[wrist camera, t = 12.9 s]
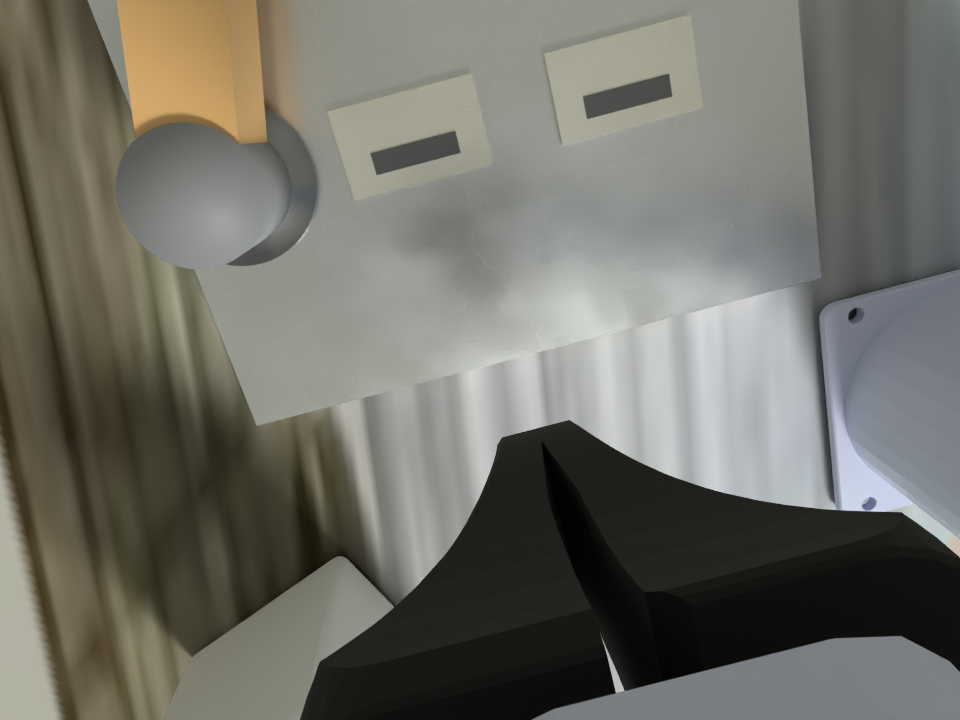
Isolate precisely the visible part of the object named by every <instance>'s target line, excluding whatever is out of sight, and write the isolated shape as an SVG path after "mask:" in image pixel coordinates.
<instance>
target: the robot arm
mask: <svg viewBox="0 0 960 720" xmlns="http://www.w3.org/2000/svg"><path fill="white" fill-rule="evenodd" d="M854 308H857V314H856V316H855V317H854V318H853V319H851V320H849V319H848V315H849V313H850V311H851V310H852V309H854ZM819 323H820V335H821V346H822V358H823V369H824V381H825V392H826V404H827V415H828V426H829V438H830V449H831V461H832V472H833V484H834V495H835V506H836V509H837V510H825V509H815V508H807V507H798V506H790V505H782V504H776V503H770V502H763V501H758V500H753V499H748V498H744V497H739V496H735V495H730V494H726V493H722V492H718V491H714V490H711V489H707V488H704V487H701V486H698V485H695V484H692V483H689V482H686V481H683V480H680V479H677V478H674V477H672V476H669V475H667V474H664V473H662V472H659V471H657V470H655V469H653V468H651V467H648V466H646V465H644V464H642V463H640V462H638V461H636V460H634V459H632V458H630V457H628V456H626V455H624V454H622V453H621V452H619V451H617V450H615V449H614V448H612V447H610V446H609V445H607V444H605V443H604V442H602V441H601V440H599V439H598V438H596V437H594V436H593V435H591V434H590V433H588V432H587V431H585V430H584V429H583V428H581V427H580V426H578V425H576V424H575V423H573V422H572V421H570V420H568V421H564V422H560V423H557V424H553V425H549V426H545V427H541V428H537V429H533V430H530V431H526V432H522V433H518V434H514V435H510V436H506V437H503V438H502V439H501V440H500V442H499V443H498V445H497V451H496V456H495V459H494V462H493V465H492V468H491V471H490V474H489V476H488V479H487V481H486V484H485V486H484V489H483V491H482V493H481V496H480V498H479V500H478V502H477V504H476V506H475V508H474V509H473V511H472V513H471V515H470V517H469V519H468V521H467V523H466V525H465V526H464V528H463V530H462V531H461V533H460V534H459V536H458V538H457V539H456V541H455V542H454V544H453V545H452V546H451V548H450V549H449V551H448V552H447V553H446V554H445V556H444V557H443V558H442V559H441V560H440V561H439V562H438V564H437V565H436V566H435V567H434V568H433V569H432V570H431V571H430V572H429V574H428V575H427V576H426V577H425V578H424V579H423V580H422V581H421V582H420V584H419V585H418V586H417V587H416V588H415V589H414V590H413V591H412V592H411V593H409V594H408V595H407V596H406V597H405V598H404V599H403V600H402V601H401V602H400V603H399V604H398V605H396V606H395V607H394V608H393V609H392V610H390V611H389V612H388V613H387V614H386V615H385V616H383V617H382V618H381V619H380V620H378V621H377V622H376V623H375V624H373V625H372V626H371V627H370V628H368V629H367V630H365V631H364V632H362V633H361V634H360V635H358V636H357V637H355V638H354V639H352V640H351V641H350V642H348V643H347V644H345V645H344V646H342V647H341V648H340V649H338V650H337V651H335V652H334V653H332V654H331V655H329V656H328V657H326V658H325V659H323V660H321V661H320V662H319V665H318V667H317V671H316V674H315V677H314V680H313V682H312V685H311V688H310V690H309V693H308V695H307V698H306V701H305V705H304V708H303V711H302V714H301V718H300V720H960V558H959V556H957V555H956V554H955V553H954V552H953V551H952V550H950V549H949V548H948V547H947V546H946V545H945V544H943V543H942V542H941V541H940V540H939V539H938V538H936V537H935V536H934V535H932V534H931V533H930V532H928V531H927V530H925V529H924V528H923V527H921V526H920V525H919V524H917V523H916V522H915V521H913V520H912V519H910V518H909V517H907V516H906V515H904V514H903V513H901V512H884V511H888V510H892V509H896V508H900V507H904V506H908V505H912V504H915V505H917V506H918V507H919V508H921V509H922V510H923V511H925V512H926V513H927V514H928V515H930V516H931V517H932V518H934V519H935V520H936V521H937V522H939V523H940V524H941V525H943V526H944V527H945V528H946V529H948V530H949V531H950V532H952V533H953V534H954V535H955V536H957V537H958V538H959V539H960V269H958V270H955V271H951V272H947V273H943V274H939V275H935V276H932V277H928V278H924V279H920V280H916V281H912V282H909V283H905V284H901V285H897V286H893V287H889V288H885V289H882V290H878V291H874V292H870V293H866V294H862V295H859V296H855V297H851V298H847V299H843V300H839V301H836V302H832V303H830V304H828V305H827V306H826V307H825V308H824V309H823V310H822V312H821V314H820V319H819ZM869 497H870V498H869ZM867 498H869V500H868V502H867V503H865V504H863V505H862V502H863V501H864V500H865V499H867ZM600 634H601V635H600ZM601 636H602V638H601ZM602 639H603V641H604V643H605V645H606V648H607V650H608V652H609V655H610V657H611V659H612V661H613V664H614V666H615V668H616V670H617V673H618V675H619V677H620V680H621V683H622V685H623V688H624V690H625V691H623V692H619V693H616V692H615V688H614V684H613V679H612V675H611V671H610V667H609V662H608V658H607V654H606V651H605V647H604V644H603V641H602Z"/></svg>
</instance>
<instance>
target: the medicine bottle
mask: <svg viewBox="0 0 960 720" xmlns="http://www.w3.org/2000/svg"><path fill="white" fill-rule="evenodd" d="M393 608H394V606H393V605H392V604H391V603H390V602H389V601H388V600H387V599H386V598H385V597H384V596H383V595H382V594H381V593H380V592H379V591H378V590H377V589H376V588H375V587H374V586H373V585H372V584H371V583H370V582H369V581H368V580H367V579H366V578H365V576H364V575H363V574H362V573H361V572H360V571H359V570H358V569H357V568H356V567H355V566H354V565H353V564H352V563H351V562H350V561H349V560H348V559H347V558H345V557H343V556H337V557H335V558H333V559H332V560H330V561H329V562H327V563H326V564H324V565H323V566H321V567H320V568H319V569H317V570H316V571H314V572H313V573H311V574H310V575H309V576H307V577H306V578H304V579H303V580H301V581H300V582H298V583H297V584H296V585H294V586H293V587H291V588H290V589H288V590H287V591H286V592H284V593H283V594H281V595H280V596H278V597H277V598H275V599H274V600H273V601H271V602H270V603H268V604H267V605H265V606H264V607H263V608H261V609H260V610H258V611H257V612H255V613H254V614H252V615H251V616H250V617H248V618H247V619H245V620H244V621H242V622H241V623H240V624H238V625H237V626H235V627H234V628H232V629H231V630H229V631H228V632H227V633H225V634H224V635H222V636H221V637H219V638H218V639H217V640H215V641H214V642H212V643H211V644H209V645H208V646H206V647H205V648H204V649H202V650H201V651H199V652H198V653H196V654H195V655H194V656H193V657H192V658H191V660H190V661H189V663H188V665H187V667H186V670H185V672H184V674H183V676H182V679H181V681H180V683H179V685H178V687H177V690H176V692H175V694H174V696H173V698H172V701H171V703H170V705H169V707H168V709H167V712H166V714H165V716H164V718H163V720H300V718H301V714H302V711H303V708H304V705H305V701H306V698H307V695H308V693H309V690H310V688H311V685H312V682H313V680H314V677H315V674H316V671H317V667H318V665H319V662H320V661H321V660H323V659H325V658H326V657H328V656H329V655H331V654H332V653H334V652H335V651H337V650H338V649H340V648H341V647H342V646H344V645H345V644H347V643H348V642H350V641H351V640H352V639H354V638H355V637H357V636H358V635H360V634H361V633H362V632H364V631H365V630H367V629H368V628H370V627H371V626H372V625H373V624H375V623H376V622H377V621H378V620H380V619H381V618H382V617H383V616H385V615H386V614H387V613H388V612H389V611H390V610H392V609H393Z"/></svg>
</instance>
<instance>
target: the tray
mask: <svg viewBox="0 0 960 720" xmlns="http://www.w3.org/2000/svg"><path fill="white" fill-rule="evenodd" d="M88 3H89V5H90V8H91V11H92V13H93V16H94V18H95V21H96V23H97V26H98V28H99V31H100V33H101V36H102V38H103V41H104V43H105V46H106V48H107V51H108V53H109V56H110V58H111V61H112V63H113V66H114V68H115V71H116V73H117V76H118V78H119V81H120V83H121V86H122V88H123V91H124V93H125V96H126V99H127V101H128V104H129V106H130V109H131V102H130V94H129V87H128V80H127V72H126V65H125V58H124V50H123V43H122V36H121V28H120V21H119V14H118V6H117V0H88ZM256 4H257V17H258V30H259V43H260V56H261V68H262V81H263V94H264V107H265V120H266V132H267V141H268V142H270V143H271V144H272V145H273V147H274V148H275V149H276V150H277V151H278V153H279V154H280V156H281V157H282V159H283V161H284V163H285V165H286V167H287V170H288V172H289V176H290V181H291V203H290V207H289V210H288V213H287V215H286V218H285V219H284V221H283V223H282V224H281V225H280V227H279V228H278V229H277V230H276V231H275V232H274V233H273V234H272V235H270V236H269V237H268V238H266V239H265V240H263V241H262V242H260V243H259V244H257V245H256V246H254V247H253V248H251V249H250V250H248V251H247V252H245V253H244V254H242V255H241V256H239V257H238V258H236V259H235V260H233V261H231V262H229V263H227V264H225V265H222V266H219V267H215V268H210V269H195V272H196V275H197V277H198V280H199V282H200V285H201V287H202V290H203V292H204V295H205V297H206V300H207V302H208V305H209V307H210V310H211V312H212V315H213V317H214V320H215V322H216V325H217V327H218V330H219V332H220V335H221V337H222V340H223V342H224V345H225V347H226V350H227V352H228V355H229V357H230V360H231V363H232V365H233V368H234V370H235V373H236V375H237V378H238V380H239V383H240V385H241V388H242V390H243V393H244V395H245V398H246V400H247V403H248V405H249V408H250V410H251V413H252V415H253V418H254V420H255V423H256V425H257V426H258V425H261V424H265V423H269V422H273V421H277V420H281V419H284V418H288V417H292V416H296V415H300V414H303V413H307V412H311V411H315V410H319V409H323V408H326V407H330V406H334V405H338V404H342V403H346V402H349V401H353V400H357V399H361V398H365V397H369V396H372V395H376V394H380V393H384V392H388V391H392V390H395V389H399V388H403V387H407V386H411V385H415V384H418V383H422V382H426V381H430V380H434V379H438V378H441V377H445V376H449V375H453V374H457V373H461V372H464V371H468V370H472V369H476V368H480V367H484V366H487V365H491V364H495V363H499V362H503V361H506V360H510V359H514V358H518V357H522V356H526V355H529V354H533V353H537V352H541V351H545V350H549V349H552V348H556V347H560V346H564V345H568V344H572V343H575V342H579V341H583V340H587V339H591V338H595V337H598V336H602V335H606V334H610V333H614V332H618V331H621V330H625V329H629V328H633V327H637V326H641V325H644V324H648V323H652V322H656V321H660V320H664V319H667V318H671V317H675V316H679V315H683V314H687V313H690V312H694V311H698V310H702V309H706V308H709V307H713V306H717V305H721V304H725V303H729V302H732V301H736V300H740V299H744V298H748V297H752V296H755V295H759V294H763V293H767V292H771V291H775V290H778V289H782V288H786V287H790V286H794V285H798V284H801V283H805V282H809V281H813V280H817V279H821V267H820V256H819V244H818V232H817V220H816V208H815V196H814V185H813V173H812V161H811V149H810V137H809V125H808V114H807V102H806V90H805V78H804V66H803V54H802V43H801V31H800V19H799V7H798V0H256ZM131 111H132V109H131Z"/></svg>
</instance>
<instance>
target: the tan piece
mask: <svg viewBox="0 0 960 720" xmlns="http://www.w3.org/2000/svg"><path fill="white" fill-rule="evenodd" d="M117 6H118V14H119V21H120V28H121V36H122V43H123V50H124V58H125V65H126V72H127V80H128V87H129V94H130V102H131V109H132V116H133V124H134V131H135V138H136V140H135V141H134V142H133V143H132V144H131V145H130V146H129V148H128V149H127V150H126V152H125V154H124V156H123V158H122V159H121V162H120V165H119V168H118V172H117V177H116V196H117V202H118V206H119V209H120V212H121V215H122V218H123V220H124V222H125V224H126V226H127V227H128V229H129V230H130V232H131V233H132V235H133V236H134V237H135V238H136V240H137V241H138V242H139V243H140V244H141V245H142V246H143V247H144V248H145V249H147V250H148V251H149V252H150V253H152V254H153V255H155V256H156V257H158V258H160V259H161V260H163V261H166V262H168V263H170V264H173V265H176V266H179V267H183V268H189V269H210V268H215V267H219V266H222V265H225V264H227V263H229V262H231V261H233V260H235V259H236V258H238V257H239V256H241V255H242V254H244V253H245V252H247V251H248V250H250V249H251V248H253V247H254V246H256V245H257V244H259V243H260V242H262V241H263V240H265V239H266V238H268V237H269V236H270V235H272V234H273V233H274V232H275V231H276V230H277V229H278V228H279V227H280V225H281V224H282V223H283V221H284V219H285V218H286V215H287V213H288V210H289V207H290V203H291V181H290V176H289V172H288V170H287V167H286V165H285V163H284V161H283V159H282V157H281V156H280V154H279V153H278V151H277V150H276V149H275V148H274V147H273V145H272V144H271V143H270V142H268V141H267V132H266V120H265V107H264V94H263V81H262V68H261V56H260V43H259V30H258V17H257V4H256V0H117Z"/></svg>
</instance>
